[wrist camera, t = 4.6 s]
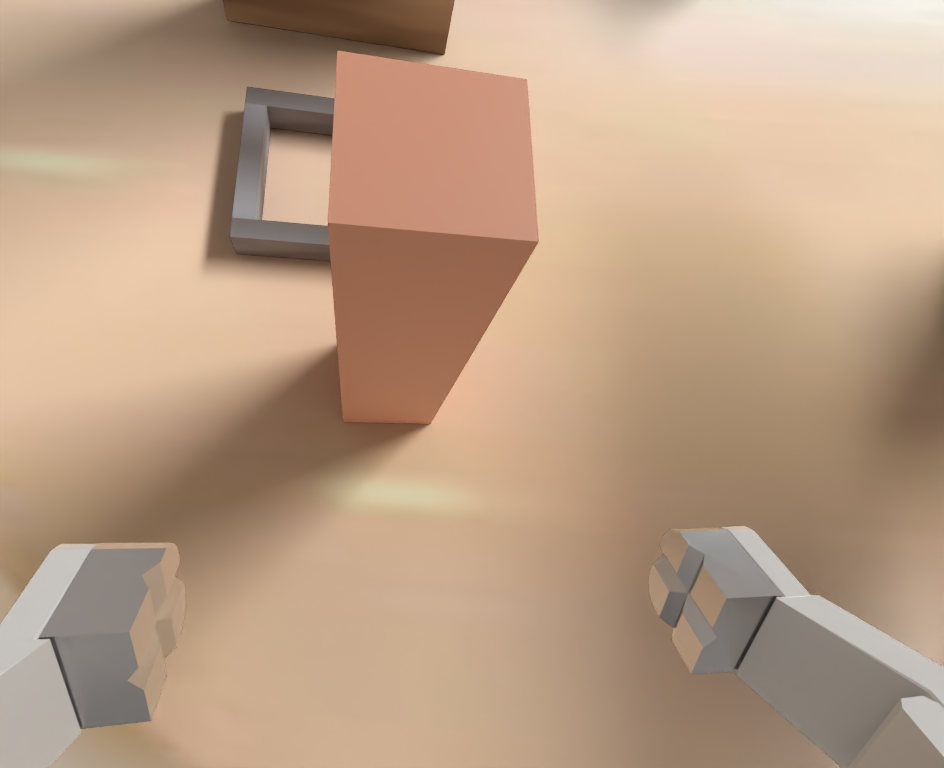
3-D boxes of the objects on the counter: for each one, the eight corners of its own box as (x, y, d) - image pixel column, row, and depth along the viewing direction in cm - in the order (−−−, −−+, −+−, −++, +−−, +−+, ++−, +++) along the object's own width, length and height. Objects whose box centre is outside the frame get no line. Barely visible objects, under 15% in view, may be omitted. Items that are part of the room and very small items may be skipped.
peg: (430, 423, 26) (538, 241, 11) (342, 422, 25) (327, 222, 10) (430, 344, 27) (527, 79, 12) (346, 340, 26) (337, 50, 11)
